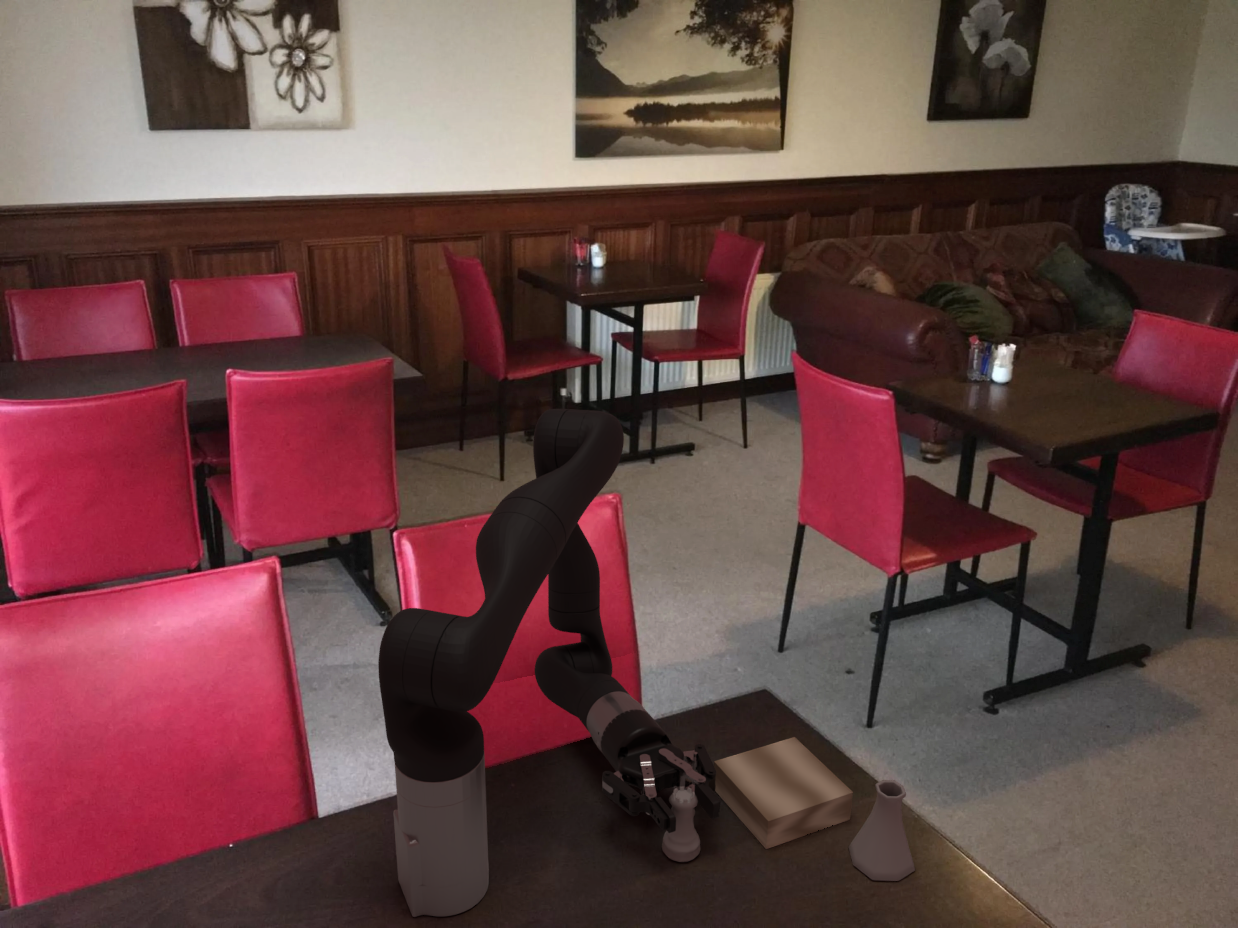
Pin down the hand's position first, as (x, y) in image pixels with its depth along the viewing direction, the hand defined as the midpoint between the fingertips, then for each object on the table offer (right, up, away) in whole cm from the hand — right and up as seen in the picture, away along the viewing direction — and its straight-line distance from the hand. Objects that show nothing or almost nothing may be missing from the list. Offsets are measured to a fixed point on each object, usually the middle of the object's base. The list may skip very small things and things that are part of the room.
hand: (694, 818), depth 114 cm
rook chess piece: (-1, -5, +5) cm, 7 cm away
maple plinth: (+11, -2, +12) cm, 17 cm away
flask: (+22, -6, +4) cm, 23 cm away
